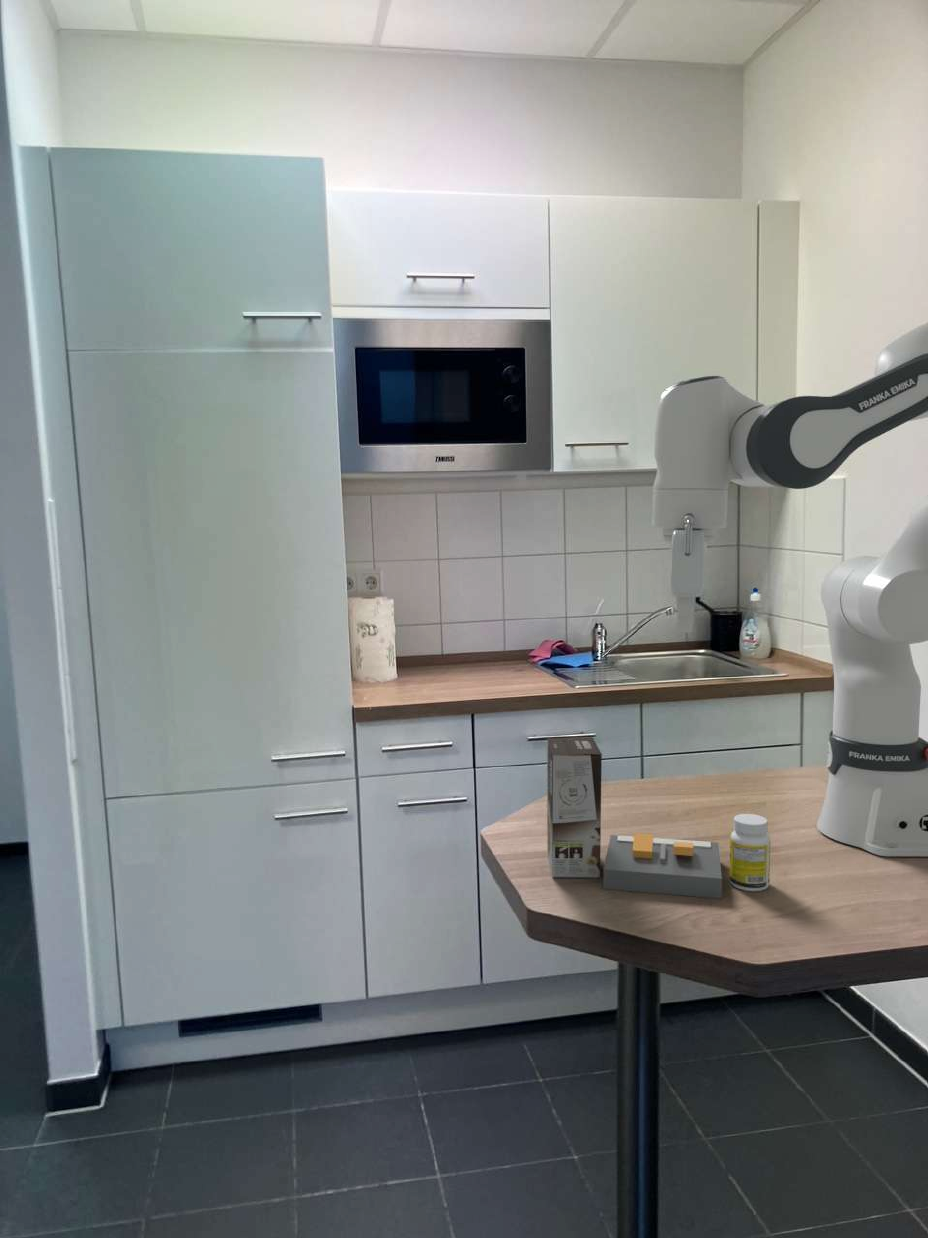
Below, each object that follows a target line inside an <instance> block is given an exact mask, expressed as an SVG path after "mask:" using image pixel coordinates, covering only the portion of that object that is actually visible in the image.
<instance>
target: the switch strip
mask: <svg viewBox="0 0 928 1238" xmlns="http://www.w3.org/2000/svg"><path fill="white" fill-rule="evenodd" d="M608 841H609V842H608V847H607V852H606V856H605V861H604V865H603V875H602V876H603V878H602V879H603V883H602V884H603V888H602V889H603V890H604V889H605V890H612V891H613V890H614V891H627V892H628V891H629V892H637V893H638V892H639V893H649V894H650V893H651V894H661V895H662V894H663V895H674V896H684V897H685V896H686V897H696V898H697V897H699V898H708V899H709V898H710V899H722V898H723V896H722V891H723V890H722V889H723V887H722V886H723V877H722V867H721V866H722V865H721V858H720V857H721V856H720V848H719V842H715V841H714V842H713V841H712V842H711V841H705V840H704V841H701V840H690V839H687V840H685V839H673V838H662V837H661V838H659V837H653V851H652V859H650V858H636V857H633V841H634V835H633V836H630V835H616V834H614V835H613V834H611V835H610V838H609V840H608ZM674 842H687V843H693V856H687V855H674V854H673V848H674Z"/></svg>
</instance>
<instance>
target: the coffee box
mask: <svg viewBox="0 0 928 1238" xmlns="http://www.w3.org/2000/svg"><path fill="white" fill-rule="evenodd" d="M602 758H603V754H602V752H601V750H600V748H599V746H598V745H597V742H596V741H595V739H594V738H593V737H590V736H589V737H588V736H578V737H577V736H574V737H573V736H571V737H562V738H560V737H559V738H558V737H555V738H554V737H553V738H551V737H550V738H549V737H548V738H546V790H547V791H546V793H547V794H546V796H547V797H546V804H547V805H546V808H547V812H546V813H547V814H546V816H547V818H546V819H547V821H546V824H547V831H546V832H547V857H548V861H549V866H550V872H551V877H552V878H586V879H587V878H589V879H591V878H592V879H593V878H595V879H597V878H598V879H599V878H600V877H601V845H602V844H601V843H602V842H601V839H602V838H601V837H602V836H601V831H602V830H601V829H602V827H601V826H602V825H601V823H602V821H601V820H602V818H601V817H602V768H603V767H602V765H603V763H602Z"/></svg>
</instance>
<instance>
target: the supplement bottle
mask: <svg viewBox="0 0 928 1238" xmlns="http://www.w3.org/2000/svg"><path fill="white" fill-rule="evenodd" d="M768 821H769V820H768V819H767V818H766V817H764V816H762V815H758V814H752V813H740V814H737V815H735V816H734V817H733V825H732V827H733V831H732V832H731V833H730V839H729V841H730V844H729V849H730V850H729V852H730V853H729V882H730V884H731V886H733V887H734V888H737V889H739V890H742V891H747V892H761V891H764V890H766V889H768V888H769V886H770V882H771V881H770V877H771V876H770V875H771V874H770V873H771V872H770V870H771V869H770V868H771V837H770V835H769V834H768V830H769V829H768V827H769V826H768V825H769V824H768V823H769V822H768Z"/></svg>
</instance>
